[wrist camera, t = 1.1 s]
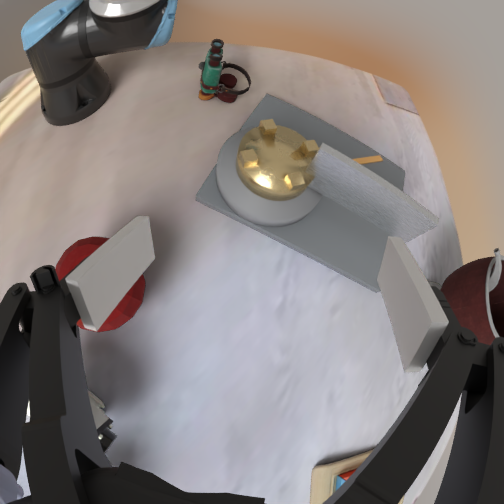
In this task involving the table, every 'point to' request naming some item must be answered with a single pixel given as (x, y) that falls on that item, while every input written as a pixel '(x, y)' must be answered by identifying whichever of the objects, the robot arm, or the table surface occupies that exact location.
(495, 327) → the mate gourd
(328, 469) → the wooden puzzle
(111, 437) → the pneumatic valve
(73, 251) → the apple
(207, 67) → the binoculars
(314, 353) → the table surface
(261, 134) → the two-tone lugged fixture
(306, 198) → the grey flat slab
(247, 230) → the table surface
